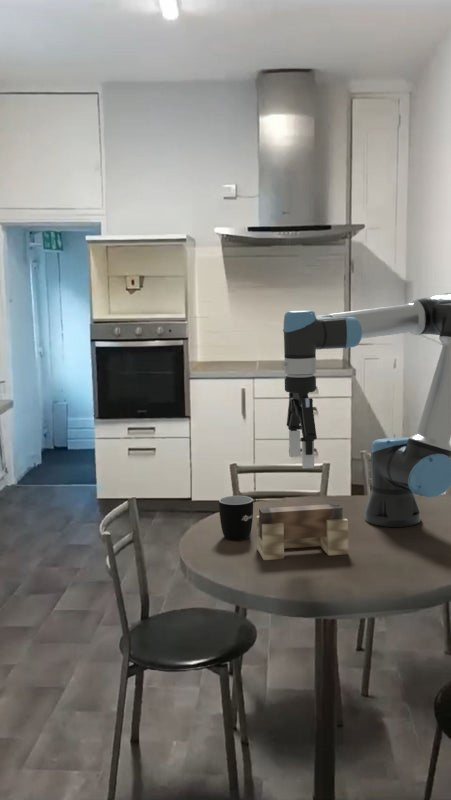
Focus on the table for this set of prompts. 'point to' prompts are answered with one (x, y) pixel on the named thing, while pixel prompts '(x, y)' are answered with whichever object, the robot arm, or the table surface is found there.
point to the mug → (236, 517)
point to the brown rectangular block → (301, 519)
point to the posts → (301, 539)
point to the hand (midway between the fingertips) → (301, 461)
